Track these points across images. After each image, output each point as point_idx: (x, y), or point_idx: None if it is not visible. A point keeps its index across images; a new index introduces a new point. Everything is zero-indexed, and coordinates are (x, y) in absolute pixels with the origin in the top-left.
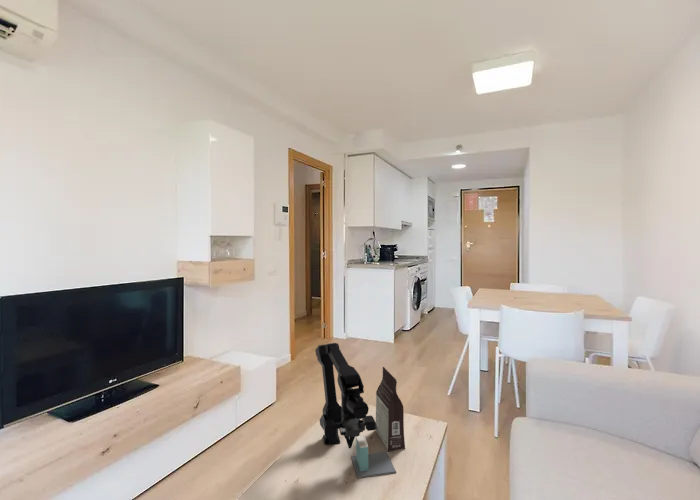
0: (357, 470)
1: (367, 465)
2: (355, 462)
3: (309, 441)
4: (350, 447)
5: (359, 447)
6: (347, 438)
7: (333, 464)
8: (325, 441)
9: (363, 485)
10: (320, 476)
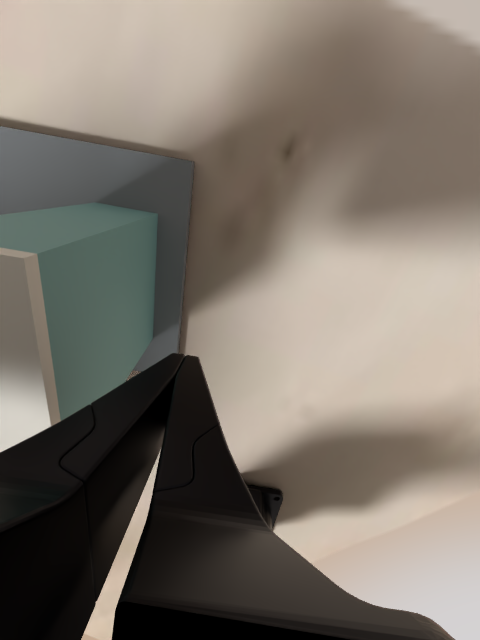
0: (174, 230)
1: (81, 205)
2: (166, 313)
3: (339, 527)
4: (177, 357)
5: (53, 287)
6: (196, 460)
7: (299, 352)
8: (273, 507)
9: (174, 50)
10: (425, 280)
